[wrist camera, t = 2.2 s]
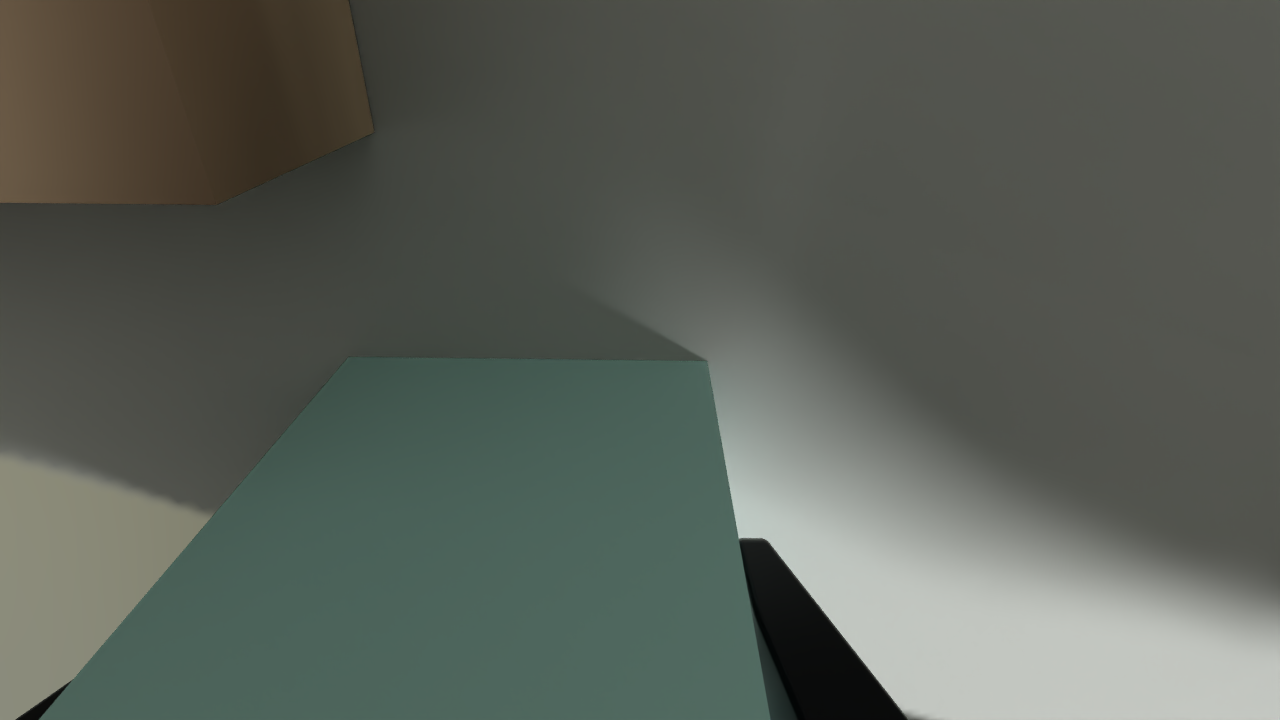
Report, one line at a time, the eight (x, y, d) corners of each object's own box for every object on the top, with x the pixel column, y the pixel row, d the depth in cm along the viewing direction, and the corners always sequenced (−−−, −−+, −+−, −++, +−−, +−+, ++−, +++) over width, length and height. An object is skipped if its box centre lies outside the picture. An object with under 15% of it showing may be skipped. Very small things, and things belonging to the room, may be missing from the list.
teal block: (706, 359, 9) (800, 890, 3) (690, 601, 11) (729, 1125, 6) (350, 355, 9) (-95, 878, 3) (411, 597, 11) (206, 1116, 6)
